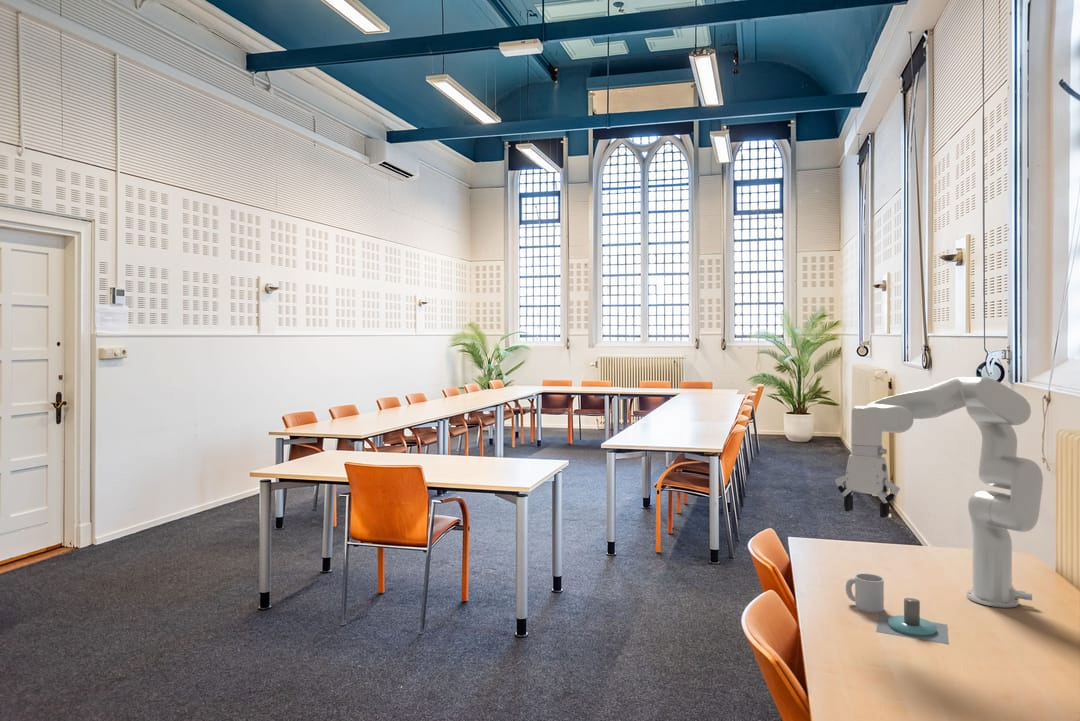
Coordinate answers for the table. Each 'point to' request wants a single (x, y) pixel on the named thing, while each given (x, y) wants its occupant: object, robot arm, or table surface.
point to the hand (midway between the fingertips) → (866, 513)
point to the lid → (912, 621)
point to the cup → (867, 592)
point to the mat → (939, 637)
